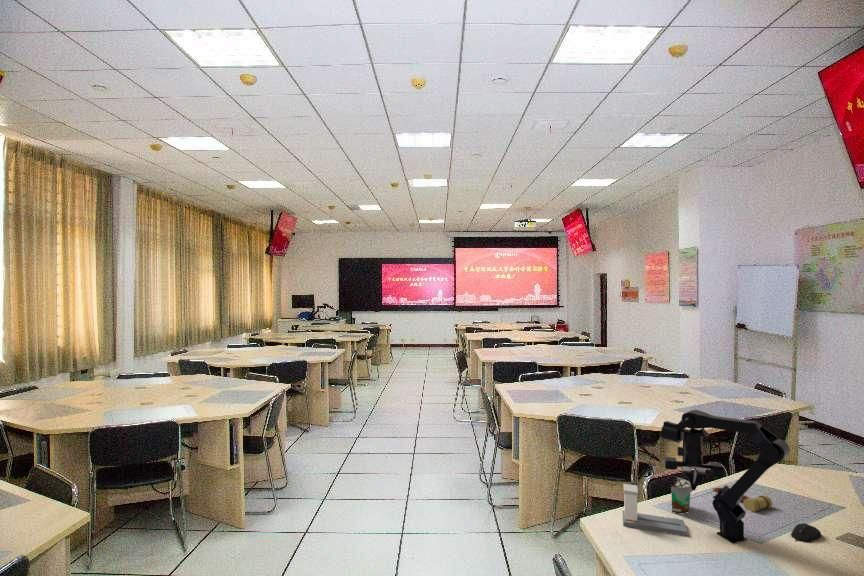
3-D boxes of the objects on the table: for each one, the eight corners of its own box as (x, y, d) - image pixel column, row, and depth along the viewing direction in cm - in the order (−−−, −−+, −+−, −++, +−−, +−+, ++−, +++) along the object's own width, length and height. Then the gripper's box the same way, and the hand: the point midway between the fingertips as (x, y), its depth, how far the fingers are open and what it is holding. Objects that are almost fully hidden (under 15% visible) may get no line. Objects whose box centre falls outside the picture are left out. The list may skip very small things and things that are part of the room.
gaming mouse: (782, 539, 158) (782, 527, 158) (803, 528, 165) (802, 517, 165) (804, 548, 152) (804, 536, 153) (824, 536, 160) (824, 524, 160)
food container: (689, 518, 172) (689, 490, 172) (671, 513, 176) (671, 486, 176) (695, 506, 182) (694, 480, 182) (677, 502, 185) (677, 476, 186)
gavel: (703, 484, 196) (720, 481, 199) (704, 495, 195) (720, 492, 199) (754, 501, 176) (772, 497, 180) (755, 514, 176) (773, 509, 180)
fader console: (683, 524, 167) (683, 519, 167) (687, 536, 159) (687, 531, 159) (622, 514, 175) (622, 510, 175) (623, 525, 166) (623, 521, 166)
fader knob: (637, 513, 172) (637, 485, 172) (638, 521, 166) (638, 492, 166) (623, 511, 173) (623, 483, 173) (624, 519, 167) (623, 490, 167)
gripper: (718, 442, 172) (718, 485, 172) (661, 437, 179) (662, 478, 179) (725, 451, 162) (725, 497, 162) (665, 445, 168) (665, 489, 168)
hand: (693, 490), depth 168 cm, fingers closed
